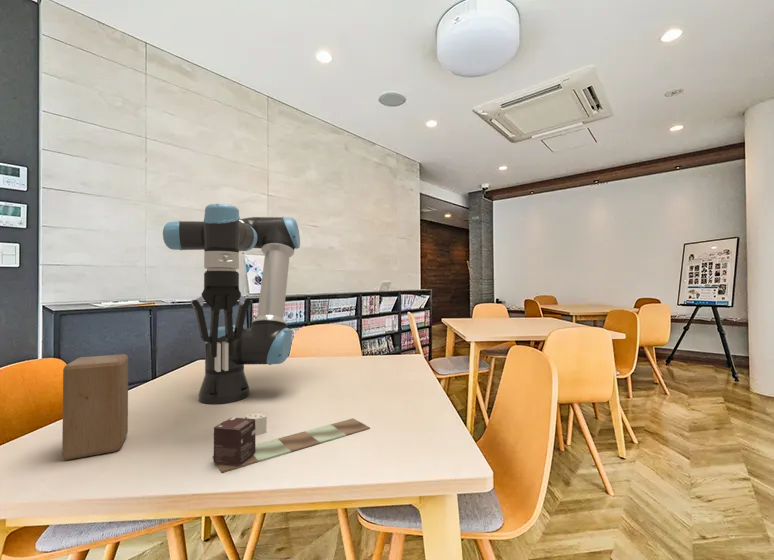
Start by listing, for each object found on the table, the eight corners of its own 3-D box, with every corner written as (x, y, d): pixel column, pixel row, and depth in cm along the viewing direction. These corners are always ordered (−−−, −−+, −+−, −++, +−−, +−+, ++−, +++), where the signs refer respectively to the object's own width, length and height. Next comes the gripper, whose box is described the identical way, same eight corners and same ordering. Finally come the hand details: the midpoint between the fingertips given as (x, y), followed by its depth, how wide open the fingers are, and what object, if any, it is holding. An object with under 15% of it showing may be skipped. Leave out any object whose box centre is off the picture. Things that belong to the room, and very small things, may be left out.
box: (239, 466, 71) (239, 429, 71) (212, 464, 72) (212, 427, 72) (256, 452, 77) (256, 418, 77) (231, 450, 78) (231, 416, 78)
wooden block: (60, 462, 74) (61, 365, 74) (75, 443, 83) (76, 356, 83) (120, 452, 78) (121, 360, 79) (128, 435, 87) (129, 353, 88)
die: (245, 431, 90) (245, 415, 90) (261, 427, 92) (261, 411, 92) (249, 436, 86) (249, 419, 86) (266, 432, 89) (266, 416, 89)
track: (212, 457, 76) (212, 455, 76) (353, 419, 97) (353, 418, 97) (221, 473, 69) (221, 471, 69) (370, 428, 91) (370, 427, 91)
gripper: (191, 269, 78) (190, 378, 77) (256, 270, 86) (256, 368, 86) (185, 270, 84) (185, 371, 83) (247, 271, 92) (247, 363, 92)
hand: (221, 370), depth 85 cm, fingers closed
